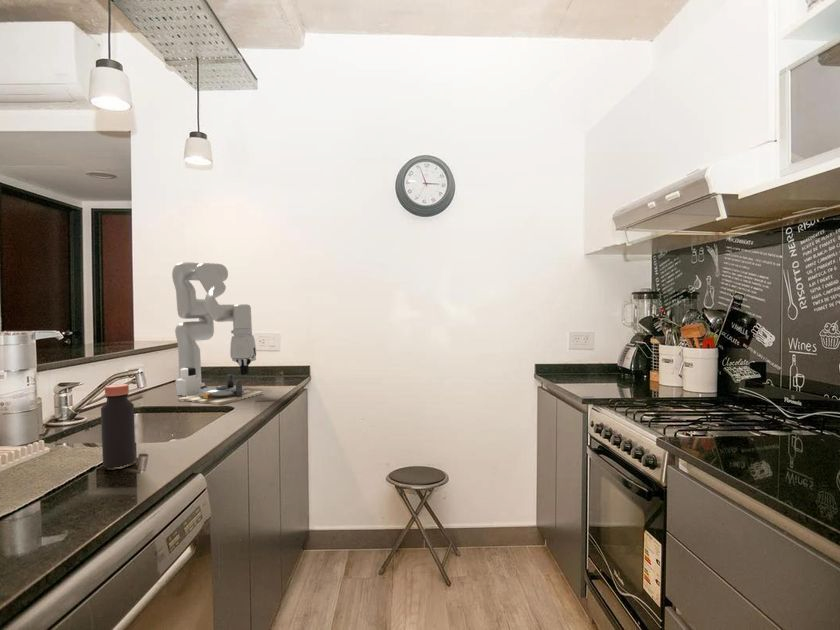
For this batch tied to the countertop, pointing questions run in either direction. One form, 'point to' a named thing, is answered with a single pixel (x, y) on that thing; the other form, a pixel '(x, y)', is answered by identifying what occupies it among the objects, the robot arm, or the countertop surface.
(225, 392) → the flange plate
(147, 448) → the countertop surface
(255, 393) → the base board
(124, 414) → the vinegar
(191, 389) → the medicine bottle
